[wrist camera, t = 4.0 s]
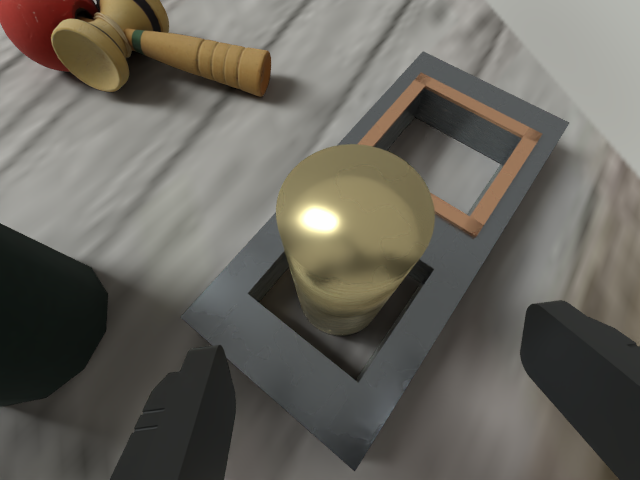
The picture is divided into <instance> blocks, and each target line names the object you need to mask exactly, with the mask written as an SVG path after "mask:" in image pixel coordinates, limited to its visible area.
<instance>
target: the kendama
mask: <svg viewBox="0 0 640 480" xmlns="http://www.w3.org/2000/svg"><path fill="white" fill-rule="evenodd" d="M96 1H97V4H95V3H94V1H93V0H0V23H1V25H2V28H3V29H4V31H5V33H6V35H7V36H8V37H9V39H10V40H11V41H12V42H13V44H14V45H15V46H16V47H17V48H18V49H19V50H20V51H21V52H22V53H24V54H25V55H26V56H27V57H29V58H30V59H32V60H33V61H35V62H37V63H39V64H41V65H43V66H45V67H48V68H51V69H54V70H59V71H67V72H71V73H72V74H73V75H75V76H76V77H77V78H78V79H80V80H81V81H83V82H84V83H86V84H87V85H89V86H91V87H93V88H95V89H98V90H101V91H106V92H114V91H117V90H119V89H120V88H121V87H122V86H123V85H124V84H125V83H126V82H127V80H128V78H129V68H128V64H127V61H126V58H128V57H130V55H131V51H132V50H133V51H136V52H138V53H141V54H143V55H146V56H148V57H150V58H153V59H155V60H157V61H160V62H162V63H165V64H167V65H170V66H172V67H175V68H177V69H180V70H183V71H186V72H189V73H192V74H195V75H198V76H203V77H204V78H207V79H210V80H214V81H217V82H219V83H222V84H225V85H228V86H231V87H234V88H237V89H241V90H243V91H246V92H248V93H251V94H254V95H256V96H260V97H262V96H263V95H264V94H265V92H266V88H267V86H268V84H269V79H270V72H271V56H270V53H269V52H268V51H266V50H260V49H254V48H245V47H242V46H237V45H230V44H226V43H219V42H216V41H211V40H205V39H201V38H196V37H191V36H185V35H179V34H172V33H168V32H169V21H168V16H167V13H166V11H165V9H164V7H163V5H162V4H161V2H160V0H96Z"/></svg>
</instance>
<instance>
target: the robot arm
mask: <svg viewBox="0 0 640 480" xmlns="http://www.w3.org/2000/svg"><path fill="white" fill-rule="evenodd" d="M520 356H521V361H522V364H523V367H524V369H525V371H526V373H527V374H528V375H529V377H530V378H531V379H532V380H533V381H534V382H535V384H536V385H537V386H538V387H539V388H540V389H541V390H542V392H543V393H544V394H545V395H546V396H547V397H548V398H549V400H550V401H551V402H552V403H553V404H554V405H555V406H556V408H557V409H558V410H559V411H560V412H561V413H562V414H563V416H564V417H565V418H566V419H567V420H568V421H569V422H570V424H571V425H572V426H573V427H574V428H575V429H576V430H577V432H578V433H579V434H580V435H581V436H582V437H583V438H584V440H585V441H586V442H587V443H588V444H589V445H590V446H591V447H592V449H593V450H594V451H595V452H596V453H597V454H598V455H599V457H600V458H601V459H602V460H603V461H604V462H605V463H606V465H607V466H608V467H609V468H610V469H611V470H612V471H613V473H614V474H615V475H616V476H617V477H618V478H619V479H620V480H640V347H638V346H637V345H636V343H635V342H634V341H632V340H631V339H629V338H628V337H627V336H625V335H624V334H622V333H621V332H619V331H618V330H616V329H615V328H613V327H611V326H608V325H606V324H604V323H601V322H599V321H597V320H595V319H592V318H590V317H587V316H586V315H584V314H583V313H582V312H580V311H579V310H577V309H576V308H575V307H573V306H572V305H570V304H569V303H567V302H565V301H562V300H560V301H552V302H544V303H537V304H531V305H530V306H529V307H528V308H527V311H526V317H525V323H524V330H523V336H522V343H521V349H520ZM235 411H236V399H235V391H234V387H233V383H232V379H231V375H230V371H229V367H228V363H227V359H226V355H225V352H224V349H223V347H222V346H221V345H216V346H208V347H201V348H193V349H190V350H189V351H188V353H187V356H186V358H185V361H184V363H183V366H182V368H181V370H180V372H173V373H168V375H167V376H166V377H165V378H164V379H163V380H162V381H161V382H160V383H159V384H158V385H157V386H156V387H155V389H154V390H153V391H152V393H151V395H150V397H149V399H148V401H147V403H146V405H145V407H144V409H143V415H140V418H139V420H138V422H137V424H136V426H135V428H134V429H135V431H134V433H132V434H131V436H130V438H129V441H128V443H127V445H126V447H125V449H124V451H123V453H122V455H121V457H120V459H119V461H118V463H117V466H116V468H115V470H114V472H113V474H112V476H111V478H110V480H224V476H225V470H226V465H227V459H228V453H229V448H230V442H231V436H232V431H233V425H234V419H235Z"/></svg>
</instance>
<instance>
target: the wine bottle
mask: <svg viewBox="0 0 640 480" xmlns="http://www.w3.org/2000/svg"><path fill="white" fill-rule="evenodd" d="M107 300H108V293H107V292H106V290H105V289H104V287H103V285H102V284H101V282H100V281H99V279H98V277H97V276H96V274H95V273H94V271H93V270H92V268H91V267H89V266H87V265H85V264H83V263H81V262H79V261H77V260H75V259H73V258H71V257H68V256H66V255H64V254H62V253H60V252H58V251H56V250H54V249H52V248H50V247H48V246H46V245H44V244H42V243H40V242H38V241H36V240H33V239H31V238H29V237H27V236H25V235H23V234H21V233H19V232H17V231H15V230H13V229H11V228H9V227H7V226H5V225H3V224H0V406H7V405H12V404H17V403H22V402H27V401H32V400H37V399H42V398H46V397H48V396H49V395H50V394H52V393H53V392H54V391H55V390H57V389H58V388H59V387H61V386H62V385H63V384H65V383H66V382H67V381H69V380H70V379H71V378H73V377H74V376H75V375H77V374H78V373H79V372H81V371H82V370H83V369H84V368H85V366H86V364H87V363H88V361H89V359H90V358H91V356H92V354H93V352H94V351H95V349H96V347H97V345H98V344H99V342H100V340H101V338H102V337H103V335H104V333H105V331H106V319H107Z"/></svg>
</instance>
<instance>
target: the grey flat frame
mask: <svg viewBox="0 0 640 480" xmlns="http://www.w3.org/2000/svg"><path fill="white" fill-rule="evenodd" d="M414 117H416V118H418V119H420V120H422V121H423V122H425V123H427V124H429V125H431V126H433V127H434V128H436V129H438V130H440V131H442V132H444V133H445V134H447V135H449V136H451V137H453V138H455V139H456V140H458V141H460V142H462V143H464V144H466V145H467V146H469V147H471V148H473V149H475V150H477V151H478V152H480V153H482V154H484V155H486V156H488V157H489V158H491V159H493V160H495V161H497V162H499V163H500V164H501V165H500V166H499V168H498V169H497V171H496V172H495V174H494V175H493V177H492V178H491V180H490V181H489V183H488V184H487V186H486V187H485V189H484V190H483V192H482V193H481V195H480V196H479V198H478V199H477V201H476V202H475V204H474V205H473V207H472V208H471V210H470V211H469V213H468V214H467V215H466V214H465V213H463V212H461V211H460V210H458V209H456V208H455V207H453V206H451V205H450V204H448V203H446V202H445V201H443V200H441V199H440V198H438V197H436V196H435V195H433V194H431V193H430V194H431V197H432V200H433V204H434V210H435V224H434V230H433V234H432V238H431V240H430V243H429V245H428V247H427V248H426V250H425V252H424V253H423V255H422V256H421V257H420V259H419V260H418V261H417V263H416V264H415V265H414V267H413V268H412V269H411V270H410V272H409V273H408V274H409V275H410V276H412V277H413V278H414V279H416V280H417V281H419V282H420V283H421V284H420V285H419V287H418V288H417V290H416V291H415V293H414V294H413V296H412V297H411V299H410V300H409V302H408V303H407V305H406V306H405V308H404V309H403V311H402V312H401V314H400V315H399V317H398V318H397V320H396V321H395V322H394V324H393V325H392V327H391V328H390V330H389V331H388V333H387V334H386V336H385V337H384V339H383V340H382V342H381V343H380V345H379V346H378V348H377V349H376V351H375V352H374V354H373V355H372V357H371V358H370V360H369V361H368V363H367V364H366V366H365V367H364V369H363V370H362V372H361V373H360V374H359V376H358V377H357V379H356V380H354V379H353V378H352V377H351V376H349V375H348V374H347V373H346V372H344V371H343V370H342V369H341V368H339V367H338V366H337V365H336V364H334V363H333V362H332V361H331V360H329V359H328V358H327V357H326V356H325V355H323V354H322V353H321V352H320V351H318V350H317V349H316V348H315V347H313V346H312V345H311V344H310V343H308V342H307V341H306V340H305V339H303V338H302V337H301V336H300V335H298V334H297V333H296V332H295V331H293V330H292V329H291V328H290V327H288V326H287V325H286V324H285V323H283V322H282V321H281V320H280V319H278V318H277V317H276V316H275V315H274V314H272V313H271V312H270V311H269V310H267V309H266V308H265V307H264V306H262V305H261V304H260V303H259V302H260V300H261V299H262V298H263V297H264V296H265V294H266V293H267V292H268V291H269V290H270V288H271V287H272V286H273V285H274V284H275V283H276V281H277V280H278V279H279V278H280V277H281V275H282V274H283V273H284V272H285V271H286V269H287V268H288V267H289V264H288V261H287V257H286V254H285V250H284V247H283V244H282V240H281V237H280V233H279V230H278V226H277V220H276V213H275V214H274V215H273V216H272V217H271V218H270V219H269V221H268V222H267V223H266V224H265V225H264V226H263V227H262V228H261V229H260V230H259V232H258V233H257V234H256V235H255V236H254V237H253V238H252V239H251V240H250V241H249V242H248V244H247V245H246V246H245V247H244V248H243V249H242V250H241V251H240V252H239V253H238V255H237V256H236V257H235V258H234V259H233V260H232V261H231V262H230V263H229V264H228V265H227V267H226V268H225V269H224V270H223V271H222V272H221V273H220V274H219V275H218V276H217V277H216V279H215V280H214V281H213V282H212V283H211V284H210V285H209V286H208V287H207V288H206V290H205V291H204V292H203V293H202V294H201V295H200V296H199V297H198V298H197V299H196V300H195V302H194V303H193V304H192V305H191V306H190V307H189V308H188V309H187V310H186V311H185V313H184V314H183V315H182V316H181V318H182V319H183V320H184V321H185V322H186V323H188V324H189V325H190V326H191V327H192V328H193V329H194V330H195V331H197V332H198V333H199V334H200V335H201V336H202V337H203V338H205V339H206V340H207V341H208V342H209V343H210V344H211V345H212V346H216V345H221V346H222V347H223V349H224V352H225V355H226V358H227V359H228V360H229V361H231V362H232V363H233V364H234V365H235V366H236V367H237V368H238V369H240V370H241V371H242V372H243V373H244V374H245V375H246V376H247V377H249V378H250V379H251V380H252V381H253V382H254V383H255V384H257V385H258V386H259V387H260V388H261V389H262V390H263V391H264V392H266V393H267V394H268V395H269V396H270V397H271V398H272V399H274V400H275V401H276V402H277V403H278V404H279V405H280V406H281V407H283V408H284V409H285V410H286V411H287V412H288V413H289V414H290V415H292V416H293V417H294V418H295V419H296V420H297V421H298V422H300V423H301V424H302V425H303V426H304V427H305V428H306V429H307V430H309V431H310V432H311V433H312V434H313V435H314V436H315V437H317V438H318V439H319V440H320V441H321V442H322V443H323V444H324V445H326V446H327V447H328V448H329V449H330V450H331V451H332V452H333V453H335V454H336V455H337V456H338V457H339V458H340V459H341V460H343V461H344V462H345V463H346V464H347V465H348V466H349V467H350V468H352V469H353V470H354V471H355V470H356V469H357V467H358V465H359V464H360V462H361V461H362V459H363V457H364V456H365V454H366V452H367V451H368V449H369V448H370V446H371V444H372V443H373V441H374V439H375V438H376V436H377V435H378V433H379V431H380V430H381V428H382V426H383V425H384V423H385V422H386V420H387V418H388V417H389V415H390V413H391V412H392V410H393V409H394V407H395V405H396V404H397V402H398V400H399V399H400V397H401V396H402V394H403V392H404V391H405V389H406V387H407V386H408V384H409V383H410V381H411V379H412V378H413V376H414V374H415V373H416V371H417V370H418V368H419V366H420V365H421V363H422V361H423V360H424V358H425V357H426V355H427V353H428V352H429V350H430V348H431V347H432V345H433V344H434V342H435V340H436V339H437V337H438V335H439V334H440V332H441V331H442V329H443V327H444V326H445V324H446V322H447V321H448V319H449V318H450V316H451V314H452V313H453V311H454V310H455V308H456V306H457V305H458V303H459V301H460V300H461V298H462V297H463V295H464V293H465V292H466V290H467V288H468V287H469V285H470V284H471V282H472V280H473V279H474V277H475V275H476V274H477V272H478V271H479V269H480V267H481V266H482V264H483V262H484V261H485V259H486V258H487V256H488V254H489V253H490V251H491V249H492V248H493V246H494V245H495V243H496V241H497V240H498V238H499V236H500V235H501V233H502V232H503V230H504V228H505V227H506V225H507V223H508V222H509V220H510V219H511V217H512V215H513V214H514V212H515V210H516V209H517V207H518V206H519V204H520V202H521V201H522V199H523V197H524V196H525V194H526V193H527V191H528V189H529V188H530V186H531V184H532V183H533V181H534V180H535V178H536V176H537V175H538V173H539V171H540V170H541V168H542V167H543V165H544V163H545V162H546V160H547V159H548V157H549V155H550V154H551V152H552V150H553V149H554V147H555V146H556V144H557V142H558V141H559V139H560V137H561V136H562V134H563V133H564V131H565V129H566V128H567V126H568V124H569V122H567V121H565V120H563V119H561V118H559V117H557V116H555V115H552V114H550V113H548V112H546V111H544V110H542V109H540V108H538V107H536V106H534V105H532V104H530V103H528V102H526V101H524V100H522V99H520V98H518V97H516V96H514V95H511V94H509V93H507V92H505V91H503V90H501V89H499V88H497V87H495V86H493V85H491V84H489V83H487V82H485V81H483V80H481V79H479V78H477V77H475V76H473V75H470V74H468V73H466V72H464V71H462V70H460V69H458V68H456V67H454V66H452V65H450V64H448V63H446V62H444V61H442V60H440V59H438V58H436V57H434V56H432V55H429V54H427V53H425V52H422V53H421V54H420V55H419V56H418V58H417V59H416V60H415V61H414V62H413V63H412V64H411V65H410V66H409V67H408V68H407V70H406V71H405V72H404V73H403V74H402V75H401V76H400V77H399V78H398V79H397V81H396V82H395V83H394V84H393V85H392V86H391V87H390V88H389V89H388V90H387V91H386V93H385V94H384V95H383V96H382V97H381V98H380V99H379V100H378V101H377V102H376V103H375V105H374V106H373V107H372V108H371V109H370V110H369V111H368V112H367V113H366V114H365V116H364V117H363V118H362V119H361V120H360V121H359V122H358V123H357V124H356V125H355V126H354V128H353V129H352V130H351V131H350V132H349V133H348V134H347V135H346V136H345V137H344V139H343V140H342V141H341V142H340V143H339V144H338V145H347V144H358V145H367V146H373V147H376V148H380V149H383V150H385V151H386V150H387V149H388V148H389V147H390V146H391V145H392V143H393V142H394V141H395V140H396V139H397V137H398V136H399V135H400V134H401V133H402V131H403V130H404V129H405V128H406V127H407V126H408V124H409V123H410V122H411V121H412V120H413V118H414ZM338 145H337V146H338Z"/></svg>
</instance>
